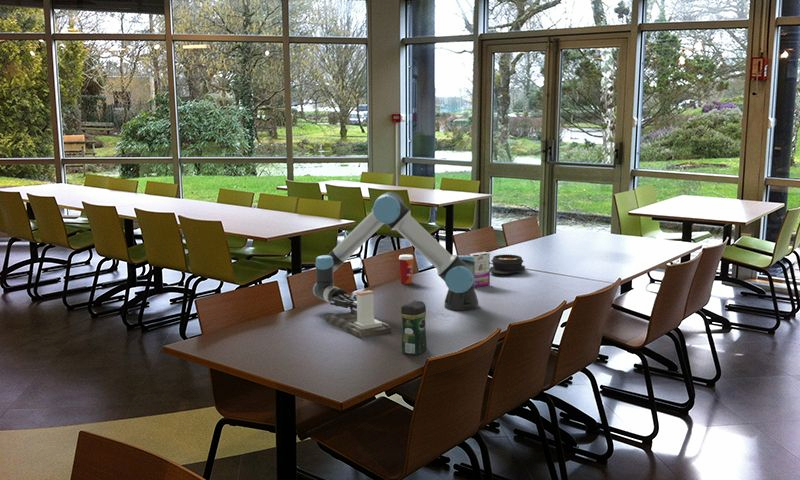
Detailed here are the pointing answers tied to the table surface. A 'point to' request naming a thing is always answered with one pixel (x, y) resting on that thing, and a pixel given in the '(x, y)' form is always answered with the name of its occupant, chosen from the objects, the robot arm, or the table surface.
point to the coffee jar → (413, 328)
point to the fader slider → (366, 310)
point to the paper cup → (406, 268)
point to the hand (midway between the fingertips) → (362, 307)
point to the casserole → (507, 264)
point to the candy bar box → (481, 268)
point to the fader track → (347, 324)
